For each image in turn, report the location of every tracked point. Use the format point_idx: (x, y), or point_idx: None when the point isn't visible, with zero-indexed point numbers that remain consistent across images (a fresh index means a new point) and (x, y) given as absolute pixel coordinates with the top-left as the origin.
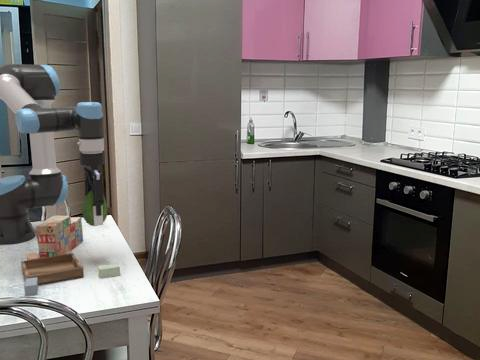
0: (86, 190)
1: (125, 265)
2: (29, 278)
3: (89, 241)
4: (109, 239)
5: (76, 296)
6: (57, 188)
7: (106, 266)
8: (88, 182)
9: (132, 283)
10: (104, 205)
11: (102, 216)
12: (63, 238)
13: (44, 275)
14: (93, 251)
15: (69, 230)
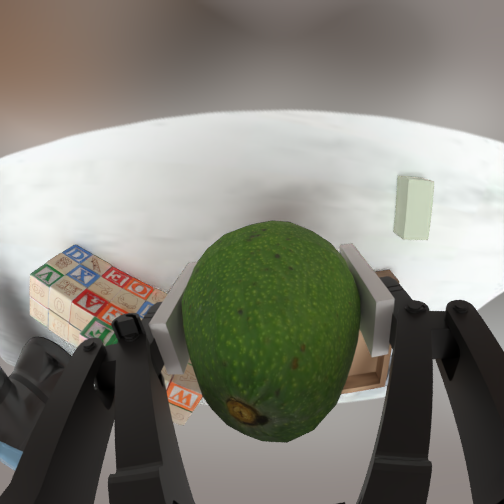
0: (113, 409)
1: (350, 143)
2: (387, 381)
3: (80, 227)
4: (75, 168)
5: (472, 289)
6: None
7: (415, 217)
8: (191, 501)
9: (474, 165)
10: (335, 268)
11: (365, 263)
12: None
13: (389, 359)
14: (171, 222)
15: (114, 313)
